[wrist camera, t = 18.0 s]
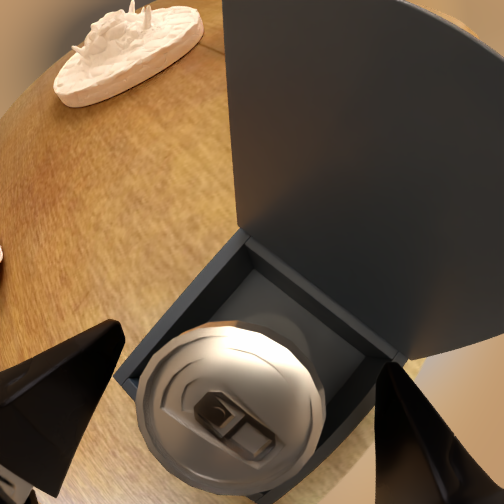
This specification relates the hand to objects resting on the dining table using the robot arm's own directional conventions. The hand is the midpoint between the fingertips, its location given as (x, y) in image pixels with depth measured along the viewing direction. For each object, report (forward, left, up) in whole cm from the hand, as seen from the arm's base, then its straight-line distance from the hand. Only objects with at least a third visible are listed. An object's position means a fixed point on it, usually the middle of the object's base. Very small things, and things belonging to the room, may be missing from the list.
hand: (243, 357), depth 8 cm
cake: (+46, -19, -11) cm, 51 cm away
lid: (-1, -5, +1) cm, 6 cm away
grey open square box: (-1, +1, -11) cm, 11 cm away
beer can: (-1, +1, -10) cm, 10 cm away
